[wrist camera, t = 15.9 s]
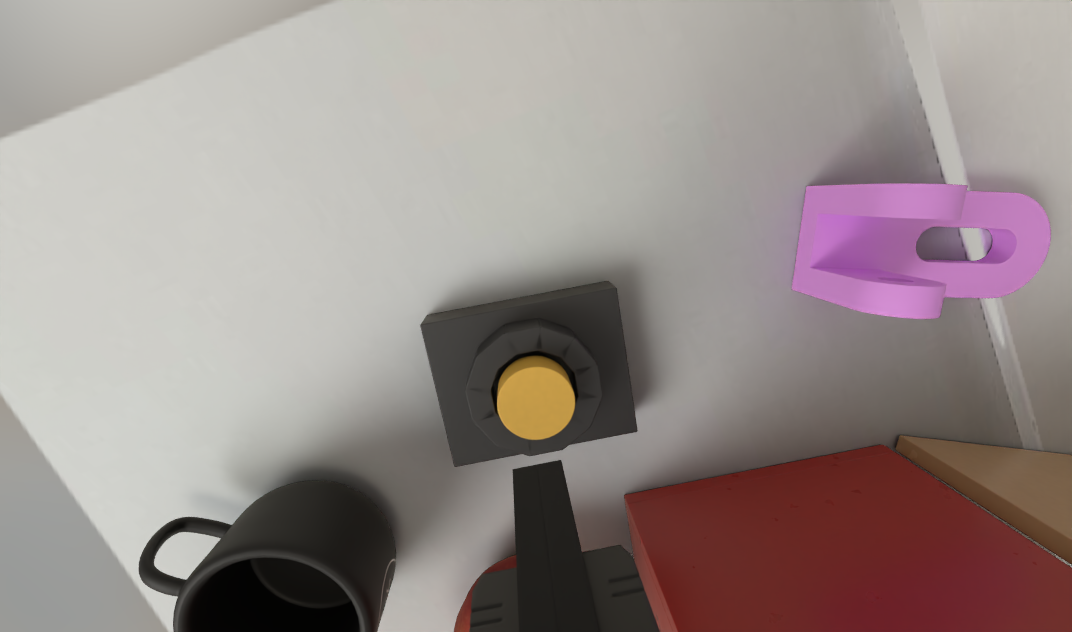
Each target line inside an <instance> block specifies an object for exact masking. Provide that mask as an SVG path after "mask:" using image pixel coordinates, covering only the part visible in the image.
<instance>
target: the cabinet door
mask: <svg viewBox="0 0 1072 632" xmlns="http://www.w3.org/2000/svg"><path fill="white" fill-rule="evenodd" d="M895 450H896V451H898V452H899V453H901V454H902V455H904V456H905V457H907V458H908V459H910V460H912V461H913V462H915V463H916V464H918V465H919V466H921V467H922V468H924V469H925V470H927V471H928V472H930V473H932V474H933V475H935V476H936V477H938V478H939V479H941V480H942V481H944V482H945V483H947V484H948V485H950V486H952V487H953V488H955V489H956V490H958V491H959V492H961V493H962V494H964V495H965V496H967V497H968V498H970V499H972V500H973V501H975V502H976V503H978V504H979V505H981V506H982V507H984V508H985V509H987V510H988V511H990V512H992V513H993V514H995V515H996V516H998V517H999V518H1001V519H1002V520H1004V521H1005V522H1007V523H1008V524H1010V525H1012V526H1013V527H1015V528H1016V529H1018V530H1019V531H1021V532H1022V533H1024V534H1025V535H1027V536H1028V537H1030V538H1032V539H1033V540H1035V541H1036V542H1038V543H1039V544H1041V545H1042V546H1044V547H1045V548H1047V549H1048V550H1050V551H1052V552H1053V553H1055V554H1056V555H1058V556H1059V557H1061V558H1062V559H1064V560H1065V561H1067V562H1068V563H1070V564H1072V455H1068V454H1059V453H1051V452H1042V451H1033V450H1024V449H1016V448H1007V447H998V446H989V445H981V444H972V443H963V442H954V441H946V440H937V439H928V438H919V437H911V436H902V435H900V436H899V439H898V443H897V446H896V449H895Z"/></svg>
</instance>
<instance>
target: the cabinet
mask: <svg viewBox="0 0 1072 632" xmlns="http://www.w3.org/2000/svg"><path fill="white" fill-rule="evenodd" d="M624 499H625V505H626V511H627V518H628V524H629V530H630V536H631V543H632V549H633V555H634V561H635V564H636V567H637V570H638V572H639V576H640V578H641V581H642V583H643V586H644V590H645V592H646V595H647V597H648V600H649V603H650V606H651V608H652V611H653V614H654V617H655V619H656V622H657V625H658V628H659V631H660V632H1072V568H1071V567H1070V566H1068V565H1067V564H1065V563H1064V562H1062V561H1061V560H1059V559H1057V558H1056V557H1054V556H1053V555H1051V554H1050V553H1048V552H1047V551H1045V550H1044V549H1042V548H1041V547H1039V546H1038V545H1036V544H1035V543H1033V542H1032V541H1030V540H1028V539H1027V538H1025V537H1024V536H1022V535H1021V534H1019V533H1018V532H1016V531H1015V530H1013V529H1012V528H1010V527H1009V526H1007V525H1006V524H1004V523H1003V522H1001V521H1000V520H998V519H996V518H995V517H993V516H992V515H990V514H989V513H987V512H986V511H984V510H983V509H981V508H980V507H978V506H977V505H975V504H974V503H972V502H971V501H969V500H968V499H966V498H964V497H963V496H961V495H960V494H958V493H957V492H955V491H954V490H952V489H951V488H949V487H948V486H946V485H945V484H943V483H942V482H940V481H939V480H937V479H935V478H934V477H932V476H931V475H929V474H928V473H926V472H925V471H923V470H922V469H920V468H919V467H917V466H916V465H914V464H913V463H911V462H910V461H908V460H907V459H905V458H903V457H902V456H900V455H899V454H897V453H896V452H894V451H892V450H891V449H889V448H888V447H886V446H885V445H877V446H872V447H866V448H861V449H856V450H851V451H846V452H841V453H836V454H831V455H826V456H820V457H815V458H810V459H805V460H800V461H795V462H790V463H785V464H779V465H774V466H769V467H764V468H759V469H754V470H749V471H744V472H738V473H733V474H728V475H723V476H718V477H713V478H708V479H703V480H698V481H692V482H687V483H682V484H677V485H672V486H667V487H662V488H657V489H651V490H646V491H641V492H636V493H631V494H626V495H624Z"/></svg>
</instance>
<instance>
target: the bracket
mask: <svg viewBox="0 0 1072 632" xmlns="http://www.w3.org/2000/svg"><path fill="white" fill-rule="evenodd" d="M967 187H968V186H967V185H952V184H854V185H825V186H806V193H805V200H804V207H803V214H802V221H801V228H800V234H799V241H798V248H797V255H796V262H795V269H794V276H793V283H792V290H795V291H798V292H801V293H804V294H807V295H810V296H813V297H816V298H819V299H822V300H825V301H829V302H832V303H835V304H838V305H841V306H844V307H847V308H850V309H853V310H857V311H861V312H866V313H871V314H876V315H883V316H890V317H899V318H912V319H934V318H939V317H940V314H941V310H942V305H943V300H944V297H956V298H997V297H1002V296H1005V295H1008V294H1010V293H1012V292H1015V291H1016V290H1018V289H1020V288H1021V287H1023V286H1024V285H1025V284H1026V283H1028V282H1029V281H1030V280H1031V279H1032V278H1033V277H1034V275H1035V274H1036V273H1037V272H1038V270H1039V269H1040V267H1041V266H1042V264H1043V262H1044V260H1045V258H1046V256H1047V253H1048V250H1049V246H1050V240H1051V229H1050V223H1049V220H1048V217H1047V215H1046V212H1045V211H1044V209H1043V208H1042V207H1041V205H1040V204H1039V203H1038V202H1037V201H1035V200H1034V199H1032V198H1031V197H1029V196H1026V195H1024V194H1020V193H1011V192H984V191H967ZM931 227H962V228H985V229H987V230H988V231H989V232H990V233H991V235H992V238H993V243H992V247H991V249H990V251H989V253H988V254H987V255H986V256H985V257H983V258H982V259H980V260H977V261H958V260H922V259H920V258H919V256H918V255H917V252H916V243H917V240H918V238H919V236H920V235H921V234H922V233H923V232H924V231H925V230H927V229H929V228H931Z"/></svg>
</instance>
